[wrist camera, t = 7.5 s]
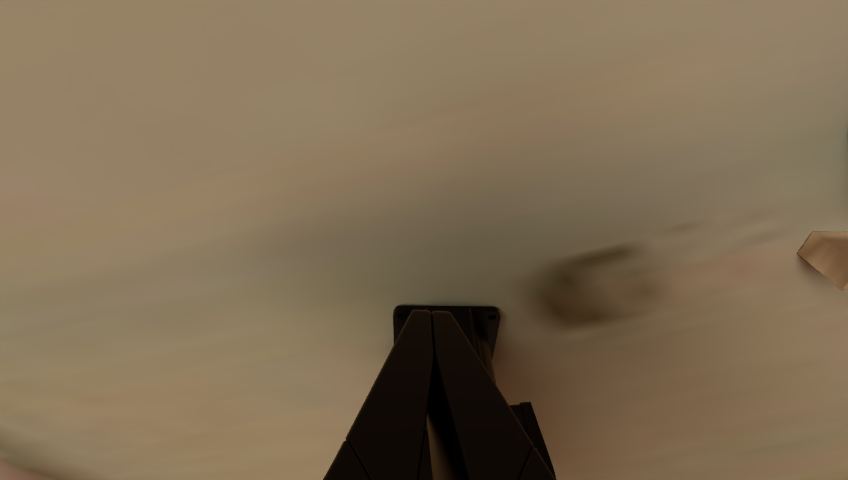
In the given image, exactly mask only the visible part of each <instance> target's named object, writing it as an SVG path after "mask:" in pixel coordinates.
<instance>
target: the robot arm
mask: <svg viewBox="0 0 848 480" xmlns="http://www.w3.org/2000/svg"><path fill="white" fill-rule="evenodd" d="M400 313H403V314H400ZM491 314H494V315H491ZM499 321H500V312H499V310H498V308H496V307H483V306H397V307H396V308H395V309H394V313H393V326H394V346H393V348H392V350H391V352H390V354H389V356H388V357H387V359H386V361H385V363H384V365H383V367H382V369H381V371H380V373H379V375H378V377H377V379H376V381H375V383H374V384H373V386H372V388H371V390H370V392H369V394H368V396H367V398H366V400H365V402H364V404H363V406H362V408H361V410H360V411H359V413H358V415H357V417H356V419H355V421H354V423H353V425H352V427H351V429H350V431H349V433H348V435H347V437H346V441H344V442H343V444H342V446H341V448H340V450H339V451H338V453H337V455H336V457H335V459H334V461H333V463H332V465H331V466H330V468H329V470H328V472H327V473H326V475H325V477H324V479H323V480H556V476H555V472H554V469H553V466H552V462H551V460H550V457H549V454H548V451H547V448H546V445H545V442H544V440H543V437H542V434H541V431H540V428H539V425H538V422H537V419H536V417H535V414H534V411H533V408H532V405H531V402H522V403H520V404H519V405H508V403H507V402H506V400H505V398H504V397H503V395H502V394H501V392H500V390H499V389H498V387H497V386H496V381H495V375H494V370H493V364H492V358H493V352H494V347H495V342H496V337H497V332H498V327H499Z"/></svg>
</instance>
